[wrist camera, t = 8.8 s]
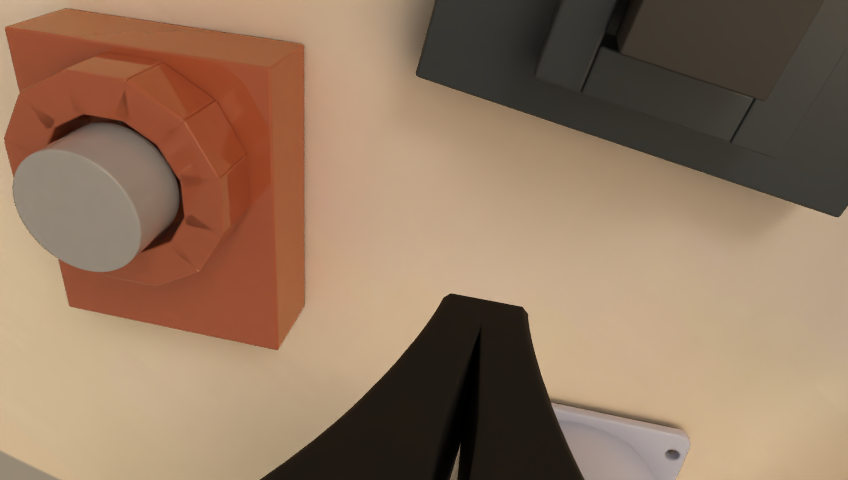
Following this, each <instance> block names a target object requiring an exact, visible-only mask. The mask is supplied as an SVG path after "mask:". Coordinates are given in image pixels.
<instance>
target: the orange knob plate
mask: <svg viewBox="0 0 848 480" xmlns="http://www.w3.org/2000/svg"><path fill="white" fill-rule="evenodd" d="M5 32H6V36H7V40H8V44H9V49H10V53H11V57H12V62H13V66H14V70H15V75H16V79H17V83H18V88H19V92H20V94H19V95H18V98H17V101H16V104H15V107H14V110H13V113H12V116H11V119H10V122H9V125H8V128H7V131H6V134H5V137H4V140H5V146H6V150H7V154H8V158H9V162H10V166H11V170H12V174H13V178H14V175H15V172H16V170H17V168H18V166H19V165H20V163H21V162H22V161H23V160H24V159H25V158H26V157H27V156H29V155H31V154H32V153H34V152H36V151H38V150H39V149H41V148H43V147H45V146H47V145H49V144H50V143H52V142H54V141H56V140H58V139H59V138H61V137H63V136H65V135H67V134H68V133H70V132H72V131H74V130H76V129H78V128H79V127H81V126H83V125H86V124H89V123H95V122H107V123H114V124H118V125H121V126H124V127H127V128H129V129H131V130H133V131H135V132H137V133H138V134H140V135H142V136H143V137H145V138H146V139H147V140H148V141H150V142H151V143H152V144H153V145H154V146H155V147H156V148H157V149H158V150H159V151H160V152H161V153H162V155H163V156H164V157H165V159H166V160H167V162H168V163H169V165H170V167H171V168H172V170H173V172H174V175H175V177H176V180H177V183H178V188H179V197H180V201H179V208H178V212H177V215H176V217H175V219H174V221H173V222H172V224H171V225H170V226H169V227H168V228H167V229H166V230H165V231H163V232H162V233H161V234H160V235H159V236H158V237H157V238H156V239H155V240H154V241H153V242H151V243H150V244H149V245H148V246H147V247H146V248H145V249H144V250H143V251H142V252H141V253H139V254H138V255H137V256H136V257H135V258H134V259H133V260H132V261H131V262H130V263H128V264H127V265H125V266H124V267H122V268H120V269H117V270H113V271H109V272H92V271H87V270H83V269H79V268H76V267H74V266H71V265H69V264H67V263H65V262H63V261H62V260H60V259H58V260H59V264H60V268H61V273H62V277H63V281H64V286H65V290H66V294H67V298H68V303H69V306H70V307H74V308H79V309H84V310H89V311H93V312H98V313H103V314H108V315H112V316H117V317H122V318H127V319H131V320H136V321H141V322H146V323H150V324H155V325H160V326H165V327H169V328H174V329H179V330H184V331H188V332H193V333H198V334H203V335H207V336H212V337H217V338H222V339H226V340H231V341H236V342H241V343H245V344H250V345H255V346H260V347H264V348H269V349H274V350H278V349H279V347H280V346H281V344H282V342H283V341H284V339H285V337H286V336H287V334H288V332H289V331H290V329H291V327H292V326H293V324H294V323H295V321H296V319H297V318H298V316H299V314H300V313H301V311H302V309H303V308H304V45H303V44H298V43H292V42H285V41H278V40H272V39H265V38H259V37H252V36H245V35H239V34H232V33H225V32H219V31H212V30H205V29H199V28H192V27H186V26H179V25H172V24H166V23H159V22H152V21H146V20H139V19H132V18H126V17H119V16H112V15H106V14H99V13H93V12H86V11H79V10H73V9H62V10H59V11H56V12H53V13H49V14H46V15H43V16H39V17H36V18H33V19H30V20H26V21H23V22H20V23H17V24H13V25H10V26H7V27H5Z"/></svg>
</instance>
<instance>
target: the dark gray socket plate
mask: <svg viewBox="0 0 848 480" xmlns="http://www.w3.org/2000/svg"><path fill="white" fill-rule="evenodd" d="M629 1H630V0H435V4H434V7H433V11H432V15H431V18H430V22H429V26H428V30H427V33H426V37H425V41H424V44H423V48H422V52H421V56H420V59H419V63H418V67H417V70H416V76H418V77H420V78H423V79H426V80H429V81H432V82H435V83H438V84H441V85H444V86H447V87H450V88H453V89H456V90H459V91H462V92H465V93H468V94H471V95H474V96H477V97H480V98H483V99H486V100H489V101H492V102H495V103H498V104H501V105H503V106H506V107H509V108H512V109H515V110H518V111H521V112H524V113H527V114H530V115H533V116H536V117H539V118H542V119H545V120H548V121H551V122H554V123H557V124H560V125H563V126H566V127H569V128H572V129H575V130H578V131H581V132H584V133H587V134H590V135H593V136H596V137H599V138H602V139H605V140H608V141H611V142H614V143H617V144H620V145H623V146H626V147H629V148H632V149H635V150H638V151H641V152H644V153H647V154H649V155H652V156H655V157H658V158H661V159H664V160H667V161H670V162H673V163H676V164H679V165H682V166H685V167H688V168H691V169H694V170H697V171H700V172H703V173H706V174H709V175H712V176H715V177H718V178H721V179H724V180H727V181H730V182H733V183H736V184H739V185H742V186H745V187H748V188H751V189H754V190H757V191H760V192H763V193H766V194H769V195H772V196H775V197H778V198H781V199H784V200H787V201H790V202H792V203H795V204H798V205H801V206H804V207H807V208H810V209H813V210H816V211H819V212H822V213H825V214H828V215H831V216H834V217H839V216H841V214H842V213H843V212H844V210H845V209H846V207H847V206H848V0H825V1H824V2H823V4H822V6H821V7H820V9H819V11H818V13H817V14H816V16H815V18H814V19H813V21H812V23H811V25H810V26H809V28H808V30H807V32H806V33H805V35H804V37H803V38H802V40H801V42H800V44H799V45H798V47H797V49H796V50H795V52H794V54H793V56H792V57H791V59H790V61H789V62H788V64H787V66H786V68H785V69H784V71H783V73H782V74H781V76H780V78H779V80H778V81H777V83H776V85H775V86H774V88H773V90H772V92H771V93H770V95H769V97H768V98H767V100H766V101H760V100H757V99H754V98H751V97H748V96H745V95H742V94H739V93H736V92H733V91H730V90H727V89H724V88H721V87H718V86H715V85H712V84H709V83H706V82H703V81H700V80H697V79H694V78H691V77H688V76H685V75H682V74H679V73H676V72H673V71H670V70H667V69H664V68H661V67H658V66H655V65H652V64H649V63H646V62H643V61H640V60H637V59H634V58H631V57H628V56H625V55H622V54H620V52H619V47H618V43H617V38H616V32H617V29H618V27H619V25H620V22H621V20H622V17H623V15H624V13H625V10H626V8H627V6H628V3H629Z"/></svg>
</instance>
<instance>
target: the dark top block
mask: <svg viewBox="0 0 848 480" xmlns="http://www.w3.org/2000/svg"><path fill="white" fill-rule="evenodd" d="M824 1H825V0H630V1H629V3H628V6H627V8H626V10H625V13H624V15H623V17H622V20H621V22H620V25H619V27H618V29H617V32H616V38H617V43H618V47H619V52H620V54H622V55H625V56H628V57H631V58H634V59H637V60H640V61H643V62H646V63H649V64H652V65H655V66H658V67H661V68H664V69H667V70H670V71H673V72H676V73H679V74H682V75H685V76H688V77H691V78H694V79H697V80H700V81H703V82H706V83H709V84H712V85H715V86H718V87H721V88H724V89H727V90H730V91H733V92H736V93H739V94H742V95H745V96H748V97H751V98H754V99H757V100H760V101H766V100H767V98H768V97H769V95H770V93H771V92H772V90H773V88H774V86H775V85H776V83H777V81H778V80H779V78H780V76H781V74H782V73H783V71H784V69H785V68H786V66H787V64H788V62H789V61H790V59H791V57H792V56H793V54H794V52H795V50H796V49H797V47H798V45H799V44H800V42H801V40H802V38H803V37H804V35H805V33H806V32H807V30H808V28H809V26H810V25H811V23H812V21H813V19H814V18H815V16H816V14H817V13H818V11H819V9H820V7H821V6H822V4H823V2H824Z"/></svg>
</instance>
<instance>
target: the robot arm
mask: <svg viewBox="0 0 848 480" xmlns="http://www.w3.org/2000/svg"><path fill="white" fill-rule="evenodd" d="M460 443H461V446H460ZM459 446H460V457H459V468H458V480H676V478H677V476H678V474H679V471H680V469H681V467H682V465H683V462H684V460H685V458H686V455H687V453H688V451H689V448H690V439H689V436H688V434H687V433H686V432H684V431H683V430H680V429H676V428H671V427H666V426H661V425H657V424H652V423H647V422H642V421H638V420H633V419H628V418H623V417H618V416H614V415H609V414H604V413H599V412H595V411H590V410H585V409H580V408H575V407H571V406H566V405H561V404H556V403H552V402H550V399H549V396H548V393H547V390H546V387H545V384H544V382H543V379H542V376H541V373H540V369H539V366H538V363H537V359H536V355H535V351H534V348H533V344H532V339H531V334H530V329H529V322H528V314H527V312H526V311H525V310H524V308H523V307H520V306H514V305H509V304H504V303H499V302H493V301H488V300H483V299H478V298H472V297H467V296H462V295H457V294H449V295H447V296H445V297H444V298H443V300H442V301H441V303H440V305H439V307H438V308H437V310H436V312H435V313H434V315H433V316H432V318H431V319H430V321H429V322H428V323H427V325H426V326H425V327H424V329H423V330H422V331H421V333H420V334H419V335H418V337H417V338H416V339H415V340H414V342H413V343H412V344H411V345H410V346H409V348H408V349H407V350H406V351H405V352H404V353H403V355H402V356H401V357H400V358H399V359H398V361H397V362H396V363H395V364H394V365H393V366H392V367H391V368H390V370H389V371H388V372H387V373H386V374H385V375H384V376H383V377H382V378H381V379H380V380H379V381H378V382H377V383H376V384H375V385H374V386H373V387H372V388H371V389H370V390H369V391H368V392H367V393H366V394H365V395H364V396H363V397H362V398H361V399H360V400H359V401H358V402H357V403H356V404H355V405H354V406H353V407H352V408H351V409H350V410H348V411H347V412H346V413H345V414H344V415H343V416H342V417H341V418H340V419H338V420H337V421H336V422H335V423H334V424H333V425H331V426H330V427H329V428H328V429H327V430H325V431H324V432H323V433H322V434H321V435H320V436H318V437H317V438H316V439H315V440H313V441H312V442H311V443H309V444H308V445H307V446H305V447H304V448H303V449H301V450H300V451H299V452H298V453H296V454H295V455H294V456H292V457H291V458H290V459H288V460H287V461H286V462H284V463H283V464H282V465H280V466H279V467H277V468H276V469H275V470H273V471H272V472H270V473H269V474H267V475H266V476H264V477H263V478H262V479H260V480H450V477H451V474H452V470H453V467H454V463H455V460H456V457H457V453H458V450H459ZM669 450H675V451H674V452H668V451H669Z"/></svg>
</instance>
